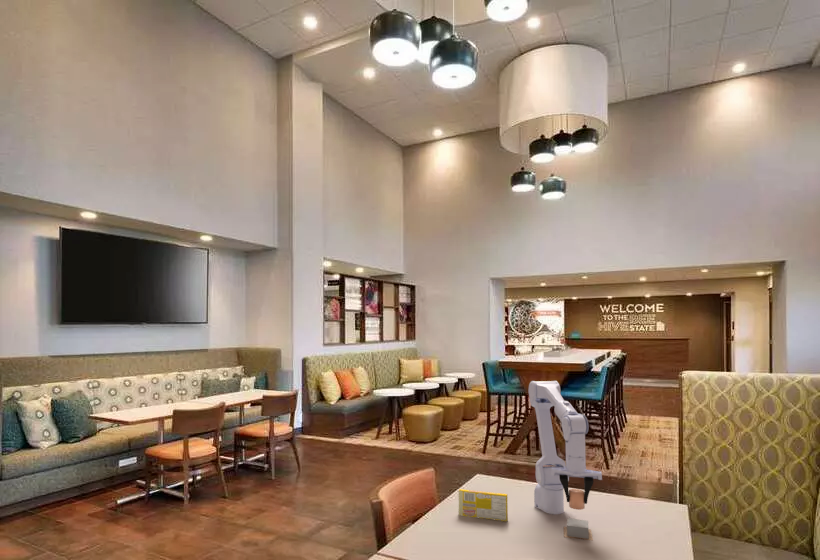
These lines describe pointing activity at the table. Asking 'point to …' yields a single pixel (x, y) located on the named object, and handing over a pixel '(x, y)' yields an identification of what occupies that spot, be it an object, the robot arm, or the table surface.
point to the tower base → (577, 537)
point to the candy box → (483, 504)
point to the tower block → (577, 528)
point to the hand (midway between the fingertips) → (576, 501)
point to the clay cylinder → (576, 499)
